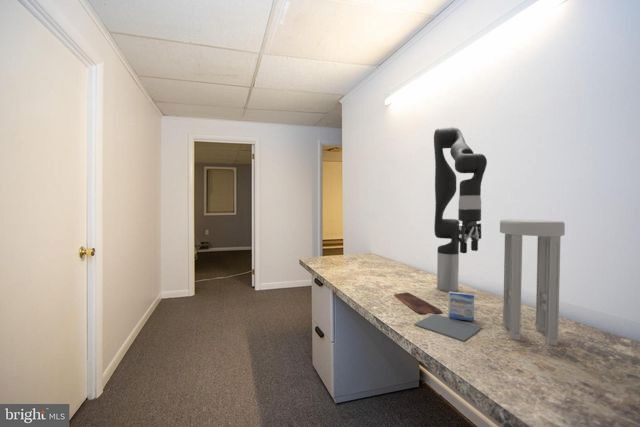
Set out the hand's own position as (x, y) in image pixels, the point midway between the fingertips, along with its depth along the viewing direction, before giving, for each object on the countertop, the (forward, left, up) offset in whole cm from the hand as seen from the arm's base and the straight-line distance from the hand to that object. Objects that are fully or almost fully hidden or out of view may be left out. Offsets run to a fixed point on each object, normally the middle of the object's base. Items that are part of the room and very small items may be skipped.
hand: (469, 251), depth 110 cm
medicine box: (+10, +1, -22) cm, 24 cm away
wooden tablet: (+6, -19, -23) cm, 30 cm away
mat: (+20, +1, -22) cm, 30 cm away
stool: (+7, +20, -23) cm, 31 cm away
